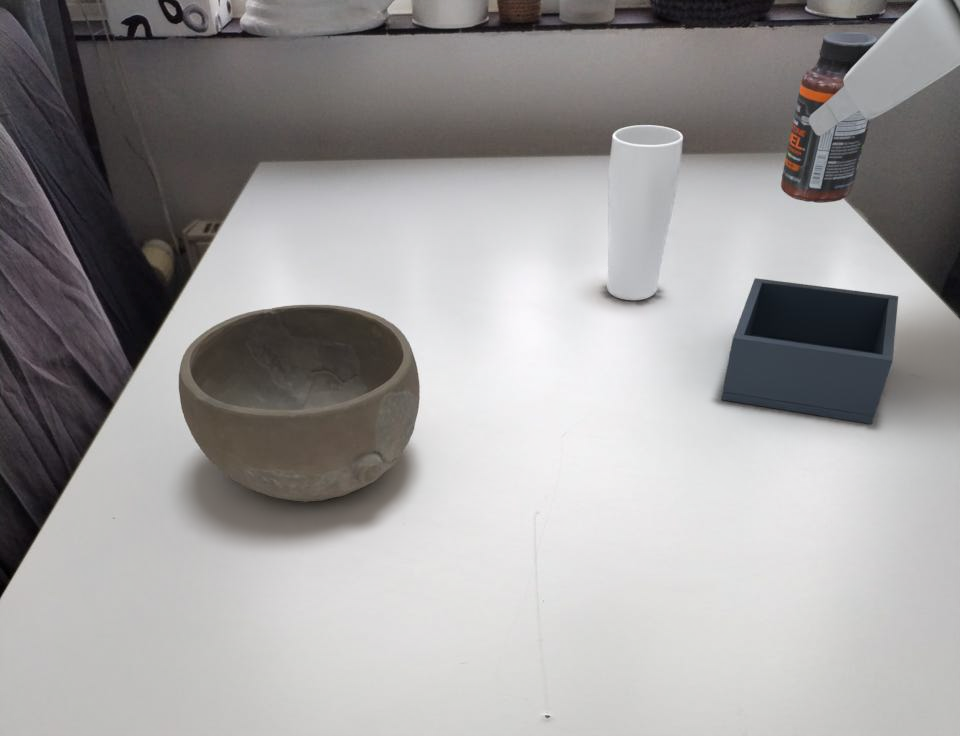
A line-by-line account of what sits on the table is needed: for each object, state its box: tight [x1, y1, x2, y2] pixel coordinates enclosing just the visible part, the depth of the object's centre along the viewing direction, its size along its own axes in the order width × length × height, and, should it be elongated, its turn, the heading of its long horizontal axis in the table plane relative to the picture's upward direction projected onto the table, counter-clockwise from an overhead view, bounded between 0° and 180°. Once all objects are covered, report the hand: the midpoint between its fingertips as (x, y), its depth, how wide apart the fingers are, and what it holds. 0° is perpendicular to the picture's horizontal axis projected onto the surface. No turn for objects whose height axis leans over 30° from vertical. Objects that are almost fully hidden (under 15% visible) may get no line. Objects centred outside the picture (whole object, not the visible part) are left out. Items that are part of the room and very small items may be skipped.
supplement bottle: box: [780, 31, 878, 204], centre depth 73 cm, size 6×6×11 cm
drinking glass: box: [606, 124, 684, 301], centre depth 89 cm, size 7×7×15 cm
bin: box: [720, 277, 899, 425], centre depth 79 cm, size 13×13×6 cm
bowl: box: [178, 304, 421, 503], centre depth 69 cm, size 17×18×10 cm
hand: (824, 114), depth 72 cm, fingers closed on supplement bottle, 6 cm apart
